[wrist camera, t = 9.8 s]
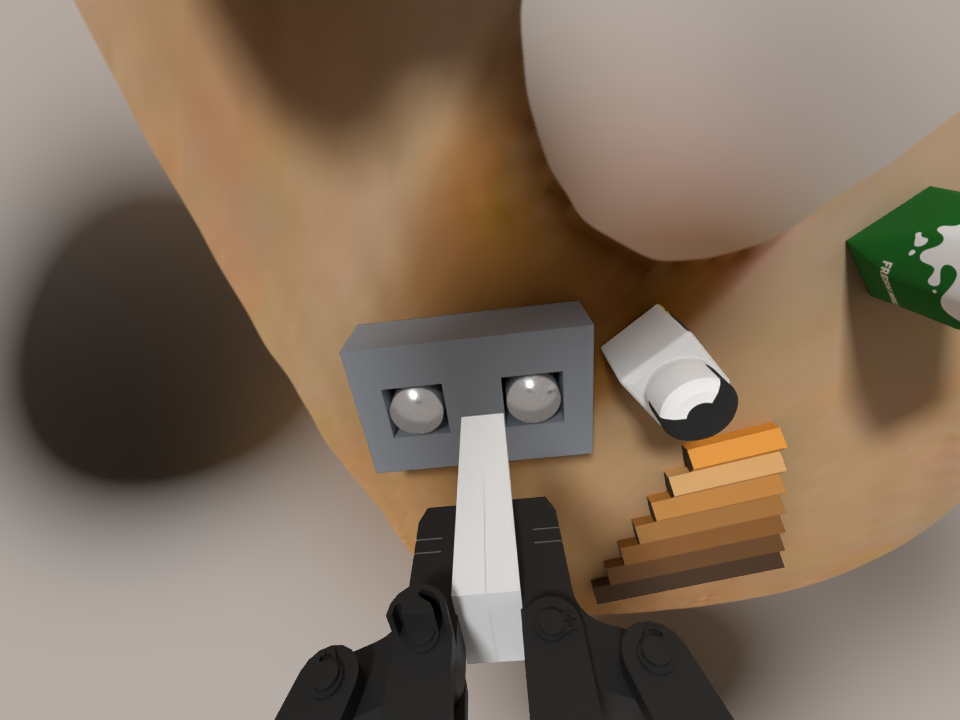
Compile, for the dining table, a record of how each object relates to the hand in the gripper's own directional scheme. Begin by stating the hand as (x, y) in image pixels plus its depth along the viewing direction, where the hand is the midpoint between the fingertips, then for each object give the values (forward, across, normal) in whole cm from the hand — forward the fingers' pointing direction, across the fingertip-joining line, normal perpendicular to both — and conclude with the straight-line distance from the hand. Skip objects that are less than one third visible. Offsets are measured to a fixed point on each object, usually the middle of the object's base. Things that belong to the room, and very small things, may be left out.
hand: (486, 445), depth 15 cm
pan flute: (+27, +21, -36) cm, 50 cm away
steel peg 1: (+25, -7, -12) cm, 29 cm away
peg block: (+26, -2, -12) cm, 29 cm away
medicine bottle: (+27, +16, -11) cm, 33 cm away
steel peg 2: (+25, +4, -12) cm, 28 cm away
